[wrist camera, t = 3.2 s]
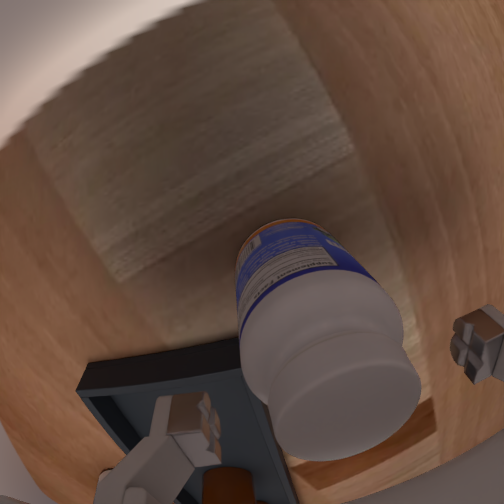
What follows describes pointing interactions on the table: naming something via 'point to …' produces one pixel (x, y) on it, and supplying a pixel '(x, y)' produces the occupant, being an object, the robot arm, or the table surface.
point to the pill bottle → (320, 343)
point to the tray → (188, 381)
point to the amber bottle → (228, 486)
